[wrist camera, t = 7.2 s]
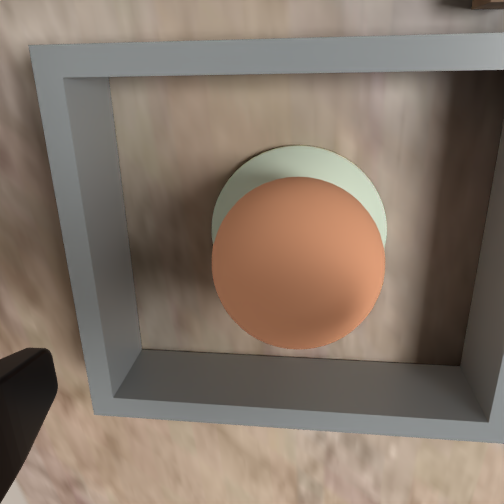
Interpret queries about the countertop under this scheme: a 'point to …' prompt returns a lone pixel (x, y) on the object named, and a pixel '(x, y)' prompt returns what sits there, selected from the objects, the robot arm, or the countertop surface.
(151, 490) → the countertop surface
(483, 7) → the cradle
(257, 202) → the ball
